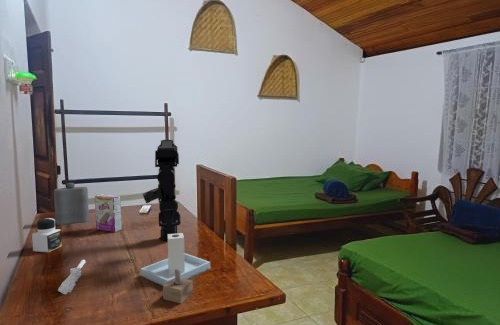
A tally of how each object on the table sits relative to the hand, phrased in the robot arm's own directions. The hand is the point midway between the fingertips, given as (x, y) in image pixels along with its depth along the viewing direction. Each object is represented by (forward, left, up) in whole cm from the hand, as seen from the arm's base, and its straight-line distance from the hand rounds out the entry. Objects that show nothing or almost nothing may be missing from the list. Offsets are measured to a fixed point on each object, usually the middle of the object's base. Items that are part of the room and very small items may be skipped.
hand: (167, 222), depth 124 cm
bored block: (+7, +13, -12) cm, 19 cm away
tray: (+7, +13, -13) cm, 20 cm away
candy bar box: (-3, -48, -13) cm, 50 cm away
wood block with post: (+17, +26, -13) cm, 34 cm away
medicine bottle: (+25, -44, -13) cm, 52 cm away
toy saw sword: (+30, -9, -14) cm, 34 cm away
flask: (+2, -74, -13) cm, 75 cm away
